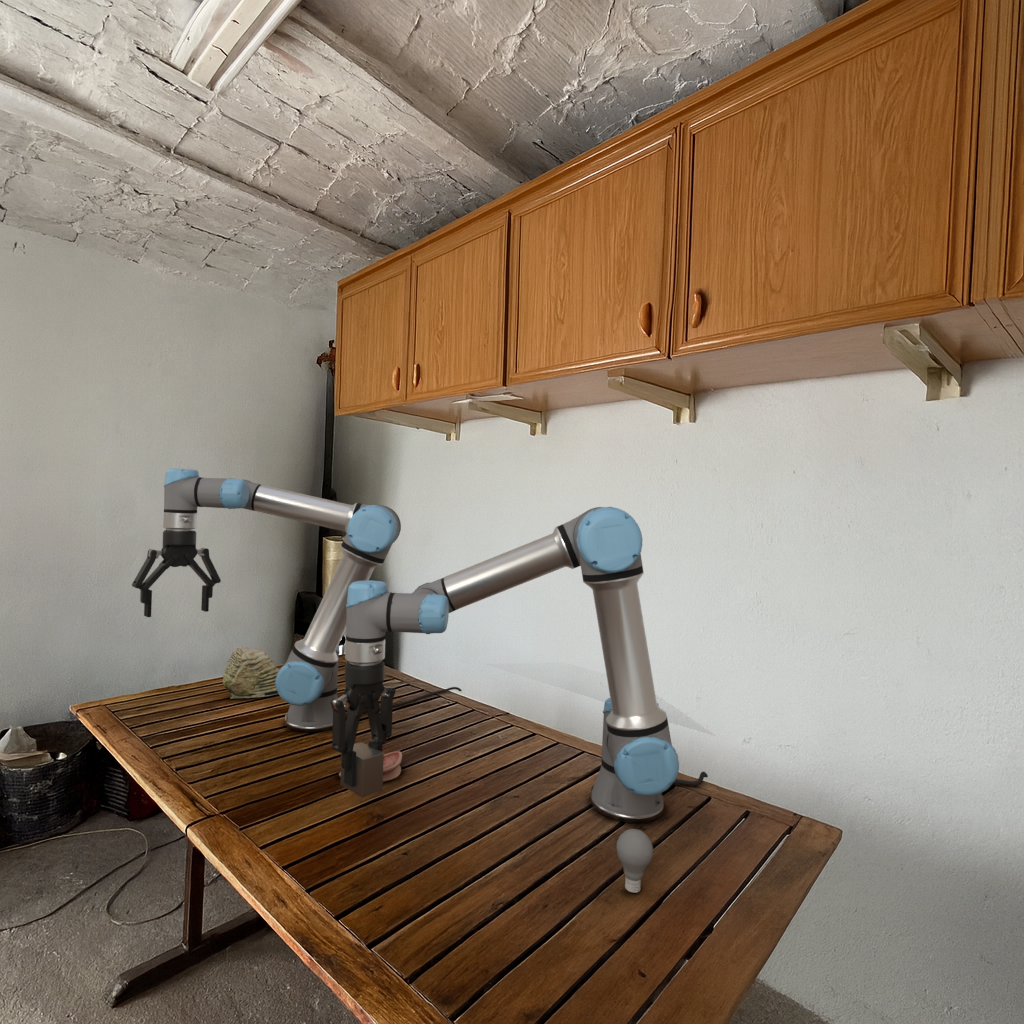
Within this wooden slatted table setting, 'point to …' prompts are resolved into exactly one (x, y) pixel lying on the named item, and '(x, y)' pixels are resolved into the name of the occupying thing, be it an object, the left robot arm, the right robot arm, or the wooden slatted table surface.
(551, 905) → the wooden slatted table surface
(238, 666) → the fossil
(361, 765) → the brick
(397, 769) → the anatomical model
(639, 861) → the light bulb
